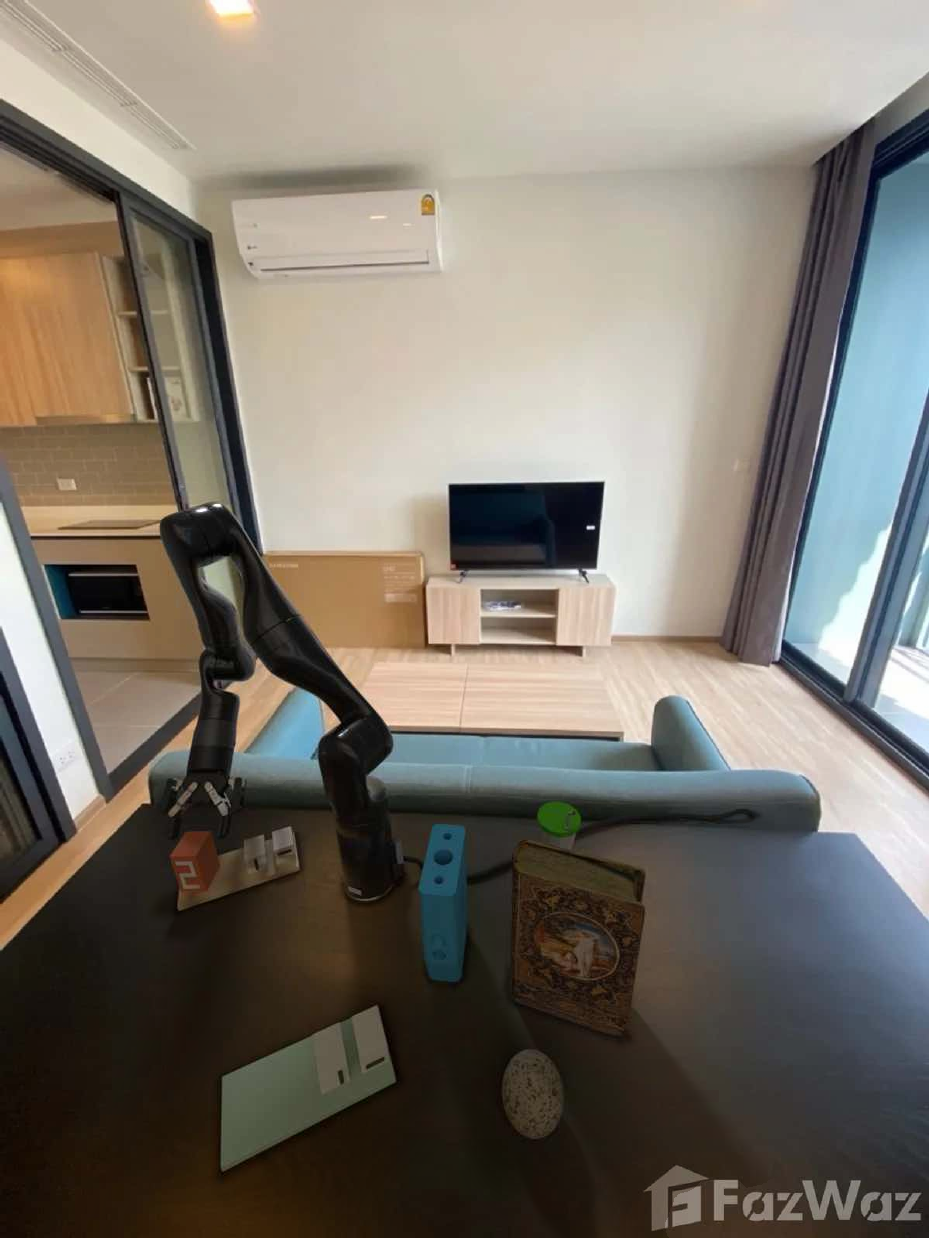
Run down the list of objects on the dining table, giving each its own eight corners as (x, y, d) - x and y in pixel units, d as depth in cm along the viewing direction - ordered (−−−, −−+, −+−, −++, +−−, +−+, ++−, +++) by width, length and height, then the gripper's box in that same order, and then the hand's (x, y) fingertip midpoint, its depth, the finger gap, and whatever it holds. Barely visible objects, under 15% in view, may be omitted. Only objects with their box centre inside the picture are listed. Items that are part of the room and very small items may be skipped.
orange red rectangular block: (220, 865, 92) (210, 830, 89) (206, 893, 87) (195, 856, 84) (196, 866, 92) (185, 831, 89) (180, 893, 87) (168, 857, 84)
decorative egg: (571, 1143, 57) (577, 1094, 53) (511, 1162, 56) (513, 1113, 52) (548, 1069, 63) (552, 1020, 60) (494, 1084, 62) (494, 1035, 58)
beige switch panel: (294, 835, 100) (291, 818, 98) (299, 870, 92) (296, 852, 91) (183, 870, 93) (177, 852, 91) (178, 911, 85) (172, 892, 83)
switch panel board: (378, 1009, 70) (375, 989, 68) (396, 1081, 63) (393, 1060, 61) (223, 1080, 63) (216, 1059, 61) (222, 1172, 55) (213, 1151, 54)
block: (459, 995, 72) (455, 896, 64) (425, 991, 72) (417, 893, 65) (468, 918, 83) (466, 825, 75) (438, 915, 83) (433, 823, 76)
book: (505, 998, 71) (507, 869, 62) (514, 961, 76) (517, 836, 67) (625, 1040, 66) (647, 907, 57) (626, 997, 71) (647, 868, 62)
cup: (535, 840, 97) (538, 779, 92) (576, 844, 96) (581, 782, 91) (534, 874, 90) (537, 810, 85) (578, 879, 89) (584, 814, 84)
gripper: (164, 744, 91) (144, 840, 85) (242, 742, 91) (227, 839, 85) (186, 749, 98) (168, 839, 92) (258, 748, 98) (245, 838, 92)
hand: (196, 839), depth 89 cm, fingers open, 8 cm apart
